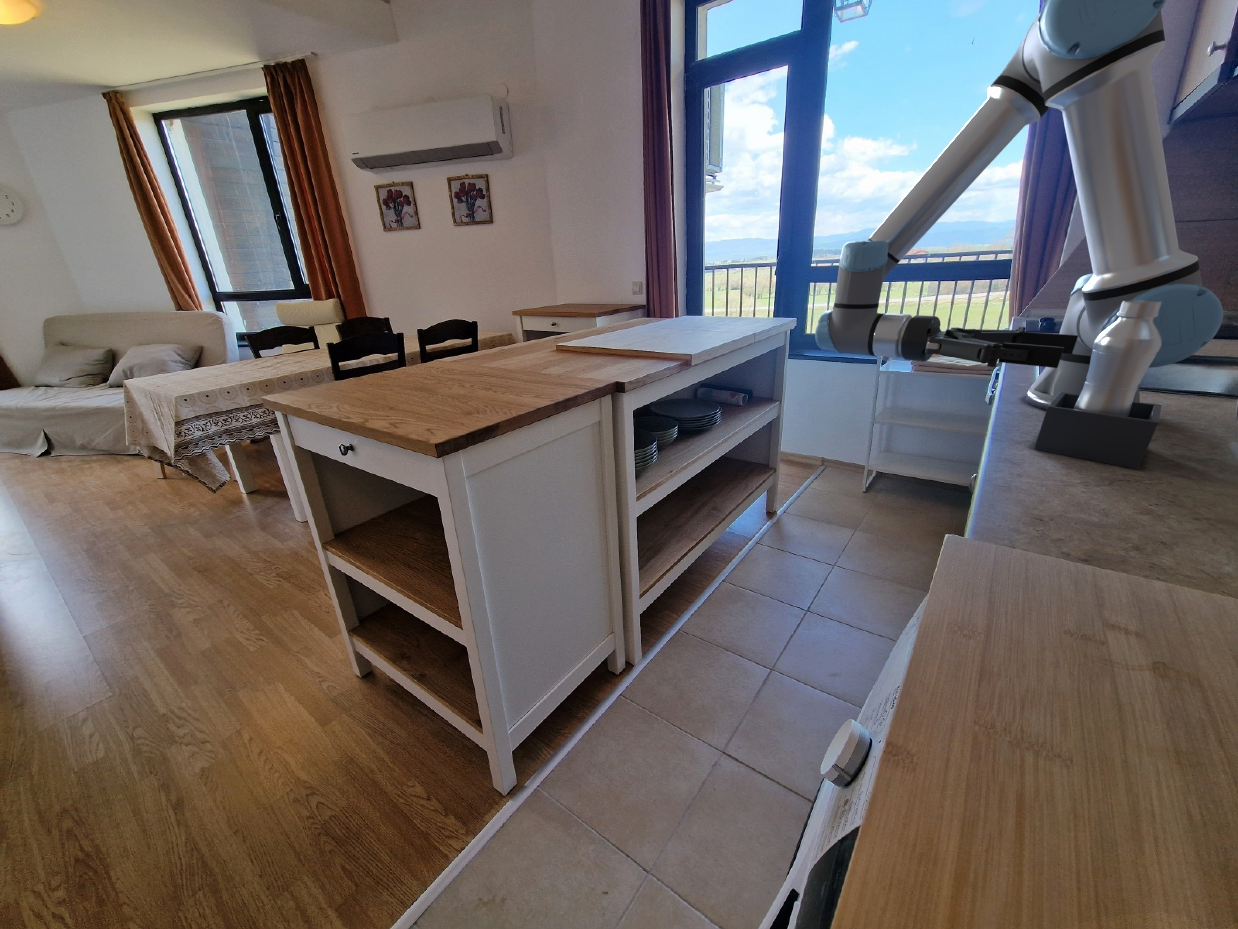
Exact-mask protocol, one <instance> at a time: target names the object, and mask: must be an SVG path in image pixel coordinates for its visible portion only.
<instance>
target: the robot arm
mask: <svg viewBox="0 0 1238 929" xmlns="http://www.w3.org/2000/svg"><path fill="white" fill-rule="evenodd" d="M1166 1H1167V0H1045V1H1044V3H1043V5H1042V7H1041V9H1040V12H1039V13H1038V15H1037V17H1036V18H1035V19H1034V21H1033V22H1032V24H1031V25H1030V26H1029V28H1028V30H1027V32H1026V34H1025V35H1024V38H1023V39H1022V41H1021V42H1020V44H1019V46H1017V49H1016V51H1015V52H1014V54H1013V55H1012V57H1011V58H1010V60H1009V61H1008V63H1007V64H1006V66H1005V67H1004V69H1003V70H1002V71H1001V72H1000V73H999V75H998V76H997V78H995V79H994V81H993V82H992V83H991V84H990V85H989V87H988V88H987V98H986V100H985V101H984V102H983V103H982V105H981V106H980V107H979V108H978V109H977V110H976V112H975V113H974V114H973V115H972V116H971V118H969V120H968V121H967V122H966V123H965V124H964V126H963V127H962V128H961V129H960V131H959V132H958V133H957V134H956V135H955V136H954V137H953V139H952V140H951V141H950V142H949V143H948V145H947V146H946V147H945V148H944V149H943V151H942V152H941V153H939V155H938V156H937V157H936V158H935V160H934V161H933V162H932V164H931V165H930V166H929V167H928V168H927V169H926V170H925V172H924V173H922V174H921V176H920V178H919V179H918V180H917V181H916V182H915V183H914V184H913V186H912V187H911V188H910V189H909V191H908V192H907V193H906V194H905V195H904V197H902V198H901V200H900V201H899V202H898V204H896V206H895V207H894V208H893V209H892V210H891V211H890V213H889V214H888V215H887V216H886V218H884V220H883V221H882V222H881V224H879V226H878V227H877V228H876V229H875V231H873V232H872V233H871V235H870V236H869V238H868V239H867V240H859V241H847V242H846V243H845V244H843V246H842V248H841V254H840V258H839V261H838V272H837V280H836V289H835V297H834V302H833V307H832V309H831V310H825V311H824V312H823V313H822V314H821V315H820V316H819V318H818V320H817V325H816V326H815V331H814V332H815V333H814V338H815V342H816V345H817V347H818V348H820V349H821V350H823V351H824V350H825V351H829V352H835V353H838V354H851V355H859V356H860V355H861V356H870V357H882V360H883V361H886V362H887V361H888V360H890V359H901V358H902V359H904V360H905V361H912V362H922V363H925V362H928V361H929V360H930V359H931V358H932V356H933V355H938V356H943V357H948V358H955V359H959V360H965V361H971V362H975V363H981V364H987V365H986V367H988V368H996V367H997V365H998V363H1003V364H1013V365H1022V366H1023V365H1024V366H1032V367H1042V368H1044V369H1043V370H1042V372H1041V373H1040V374H1039V376H1038V377H1037V379H1036V380H1034V382H1033V383H1032V385H1031V386H1030V387H1029V389H1028V390H1027V394H1026V397H1025V401H1026V402H1027V403H1028V404H1030V405H1032V406H1034V407H1038V408H1039V409H1040V408H1041V409H1044V410H1047V408H1048V406H1049V405H1050V404H1051V403H1052V401H1053V400H1054V399H1055V398H1056V397H1057V396H1058V395H1059V393H1060V392H1064V393H1072V394H1081V392H1082V390H1083V387H1084V384H1085V381H1086V380H1087V379H1086V377H1087V374H1088V370H1089V366H1090V361H1091V355H1092V350H1093V345H1094V341H1095V340H1096V338H1097V337H1098V336H1099V334H1100V333H1102V332H1103V331H1104V330H1105V329H1106V328H1108V327H1109V326H1110V325H1112V324H1113V323H1114V322H1116V321H1117V320H1118V318H1119V316H1118V315H1117V313H1118V311H1119V310H1120V307H1121V304H1122V303H1123V301H1131V300H1139V301H1160V302H1162V303H1161V307H1160V310H1159V312H1158V313H1159V315H1158V317H1154V321H1153V322H1154V324H1155V325H1156V327H1157V329H1158V330H1159V332H1160V335H1161V337H1162V345H1161V347H1160V349H1159V351H1158V352H1157V353H1156V356H1155V358H1154V359H1153V361H1152V363H1151V364H1150V366H1149V367H1148V369H1150V368H1151V369H1152V368H1160V367H1165V366H1169V365H1171V364H1172V365H1173V364H1175V363H1178V362H1182V361H1183V360H1185V359H1188V358H1190V357H1192V356H1193V355H1195V354H1196V353H1198V352H1199V351H1200V350H1202V348H1204V347H1205V346H1207V344H1209V342H1211V341H1212V340H1213V338H1214V337H1215V336H1216V335H1217V333H1218V331H1219V330H1220V327H1221V326H1222V323H1223V319H1224V309H1223V305H1222V302H1221V301H1220V299H1219V298H1218V297H1217V295H1215V294H1214V292H1213V291H1212V290H1210V289H1208V288H1207V287H1205V286H1203V281H1202V276H1201V269H1200V262H1199V257H1198V256H1197V255H1195V254H1192V253H1190V252H1189V253H1188V252H1186V251H1183V250H1182V249H1180V247H1179V246H1180V245H1179V240H1178V235H1177V227H1176V222H1175V216H1174V208H1173V202H1172V198H1171V197H1172V196H1171V190H1170V183H1169V177H1168V170H1167V165H1166V159H1165V158H1166V157H1165V152H1164V144H1163V139H1162V132H1161V127H1160V120H1159V115H1158V114H1159V113H1158V107H1157V100H1156V94H1155V88H1154V82H1153V75H1152V69H1151V68H1152V65H1153V63H1154V62H1155V60H1156V58H1157V57H1158V55H1159V54H1160V53H1161V51H1162V50H1163V48H1164V47H1165V45H1166V44H1167V43H1166V37H1165V36H1166V35H1165V30H1164V23H1163V17H1162V9H1163V7H1164V5H1165V4H1166ZM1051 108H1054V109H1057V110H1059V111H1061V112H1062V113H1061V114H1062V120H1063V124H1064V129H1065V135H1066V140H1067V144H1068V150H1069V156H1070V160H1071V166H1072V171H1073V176H1074V181H1075V187H1076V191H1077V196H1078V197H1077V198H1078V201H1079V206H1080V207H1079V208H1080V211H1081V217H1082V222H1083V228H1084V233H1085V238H1086V243H1087V248H1088V249H1087V250H1088V254H1089V258H1090V263H1091V269H1092V272H1091V273H1089V274H1085V275H1082V276H1081V277H1079V278H1078V279H1077V281H1076V283H1075V285H1074V288H1073V289H1072V291H1071V292H1070V295H1069V301H1068V304H1067V308H1066V311H1065V314H1064V318H1063V320H1062V324H1061V325H1060V326H1061V327H1060V330H1059V333H1050V332H1034V331H1026V330H1027V327H1026V326H1018V328H1017V329H979V328H978V329H977V328H962V327H950V328H946V329H945V330H942V329H941V320H940V318H939V317H938V316H936V315H923V314H921V315H919V314H916V315H914V316H912V315H911V314H908V313H890V312H886V313H881V312H878V310H879V306H880V298H881V293H882V288H883V284H884V280H885V279H886V277H888V276H889V274H890V273H891V272H892V271H893V270H894V269H895V268H896V267H897V266H898V264H899V263H900V262H901V261H902V260H903V259H904V258H905V257H906V256H907V254H908V253H909V252H910V251H911V250H912V249H913V248H914V247H915V245H917V243H918V242H919V241H921V239H922V238H923V237H925V235H926V234H927V233H928V232H929V231H930V230H931V228H933V226H934V225H935V224H936V223H937V222H938V221H939V220H940V219H941V218H942V216H943V215H944V214H945V213H946V212H947V211H948V210H949V209H950V208H951V207H952V206H953V204H954V203H955V202H956V201H957V200H958V199H959V198H960V197H961V196H962V195H963V194H964V193H965V192H966V190H968V189H969V187H970V186H971V185H973V183H974V182H975V181H976V180H977V179H978V177H979V176H980V175H982V173H983V172H984V171H985V170H986V169H987V168H988V167H989V166H990V165H991V164H992V162H993V161H995V159H996V158H997V157H998V156H999V155H1000V154H1001V152H1002V151H1003V150H1005V149H1006V147H1007V146H1008V145H1009V144H1010V143H1011V142H1012V141H1013V140H1014V138H1015V137H1016V136H1017V135H1018V134H1019V133H1020V132H1021V131H1022V130H1023V129H1024V128H1025V127H1026V126H1028V125H1031V124H1032V125H1033V124H1035V123H1037V122H1039V120H1041V118H1042V117H1044V115H1045V114H1046V113H1047V112H1048V111H1049V110H1050V109H1051ZM1140 397H1141V396H1140V384H1139V385H1138V389H1137V391H1136V393H1135V395H1134V399H1133V401H1135V402H1141V398H1140Z"/></svg>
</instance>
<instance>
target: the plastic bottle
mask: <svg viewBox="0 0 1238 929" xmlns="http://www.w3.org/2000/svg"><path fill="white" fill-rule="evenodd" d="M1161 303H1162V302H1160V301H1139V300H1131V301H1123V303H1122V304H1121V307H1120V310H1119V311H1118V313H1117V315H1118V316H1119V318H1118V320H1117V321H1116V322H1114V323H1113V324H1112V325H1110V326H1109V327H1108V328H1106V329H1105V330H1104V331H1103V332H1102V333H1100V334H1099V336H1098V337H1097V338H1096V340H1095V341H1094V345H1093V350H1092V355H1091V361H1090V366H1089V370H1088V374H1087V377H1086V379H1087V380H1086V381H1085V384H1084V387H1083V390H1082V392H1081V394H1080V396H1079V398H1078V400H1077V402H1076V404H1075V406H1074V408H1073V409H1076V410H1083V411H1089V412H1096V413H1103V414H1110V415H1117V416H1124V417H1128V416H1129V413H1130V409H1131V406H1132V402H1133V399H1134V395H1135V393H1136V391H1137V389H1138V385H1139V386H1140V384H1141V382H1142V380H1143V378H1144V377H1145V375H1146V372H1147V371H1148V369H1149V368H1148V367H1149V366H1150V364H1151V363H1152V361H1153V359H1154V358H1155V356H1156V353H1157V352H1158V351H1159V349H1160V347H1161V345H1162V337H1161V335H1160V332H1159V330H1158V329H1157V327H1156V325H1155V324H1154V322H1153V321H1154V317H1158V315H1159V313H1158V312H1159V310H1160V307H1161Z"/></svg>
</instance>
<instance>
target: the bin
mask: <svg viewBox="0 0 1238 929" xmlns="http://www.w3.org/2000/svg"><path fill="white" fill-rule="evenodd" d="M1079 396H1080V394H1072V393H1064V392H1060V393H1059V395H1058V396H1057V397H1056V398H1055V399H1054V400H1053V401H1052V403H1051V404H1050V405H1049V406H1048V408H1047V409H1046V411H1045V414H1044V417H1043V421H1042V423H1041V425H1040V429H1039V432H1038V435H1037V438H1036V442H1035V444H1034V447H1033V450H1036V451H1037V450H1038V451H1041V452H1042V451H1043V452H1048V453H1053V454H1056V455H1057V454H1058V455H1062V456H1067V457H1073V458H1078V459H1083V460H1089V461H1093V462H1097V463H1103V464H1108V465H1113V466H1119V467H1124V468H1129V469H1135V470H1139V468H1140V466H1141V465H1142V462H1143V460H1144V457H1145V454H1146V453H1147V450H1148V448H1149V445H1150V443H1151V441H1152V438H1153V436H1154V434H1155V431H1156V429H1157V427H1158V424H1159V421H1160V416H1161V415H1160V414H1161V410H1162V404H1157V403H1150V402H1142V401H1140V402H1135V401H1133V402H1132V406H1131V409H1130V413H1129V416H1128V417H1124V416H1117V415H1110V414H1103V413H1096V412H1089V411H1083V410H1076V409H1073V408H1074V406H1075V404H1076V402H1077V400H1078V398H1079Z"/></svg>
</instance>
